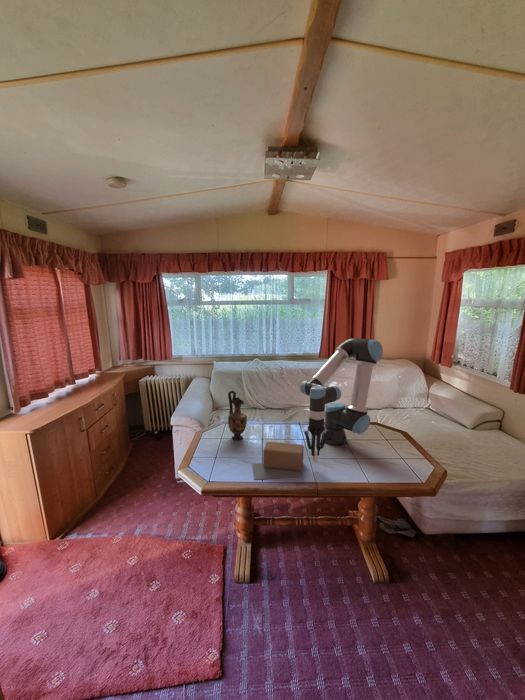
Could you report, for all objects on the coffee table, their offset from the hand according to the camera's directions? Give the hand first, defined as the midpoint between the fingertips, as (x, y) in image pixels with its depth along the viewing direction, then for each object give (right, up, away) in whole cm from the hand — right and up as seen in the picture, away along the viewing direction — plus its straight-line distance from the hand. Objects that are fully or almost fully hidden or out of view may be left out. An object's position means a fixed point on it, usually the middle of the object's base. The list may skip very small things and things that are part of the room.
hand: (314, 461), depth 148 cm
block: (-6, +1, +1) cm, 6 cm away
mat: (-20, -4, -1) cm, 20 cm away
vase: (-43, +1, +34) cm, 55 cm away
